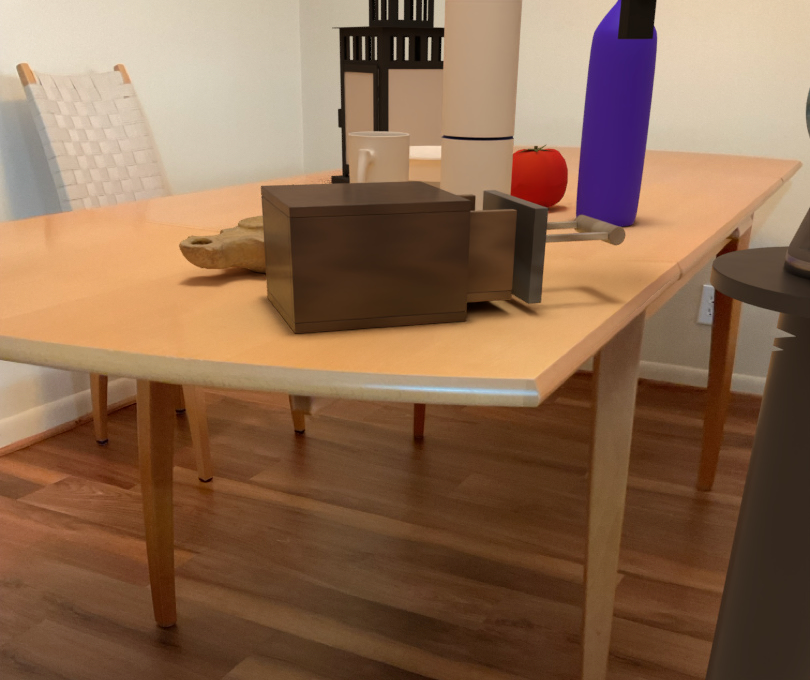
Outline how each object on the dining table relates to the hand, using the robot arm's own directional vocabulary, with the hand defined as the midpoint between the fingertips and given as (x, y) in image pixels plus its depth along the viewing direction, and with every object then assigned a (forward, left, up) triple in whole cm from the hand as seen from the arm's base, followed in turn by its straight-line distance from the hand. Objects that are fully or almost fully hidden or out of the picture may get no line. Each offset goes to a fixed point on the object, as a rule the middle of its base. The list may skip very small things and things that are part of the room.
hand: (635, 38), depth 82 cm
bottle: (+7, -34, -21) cm, 41 cm away
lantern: (+46, -56, -21) cm, 76 cm away
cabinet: (+17, +22, -21) cm, 35 cm away
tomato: (+19, -42, -21) cm, 51 cm away
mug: (+27, -3, -21) cm, 35 cm away
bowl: (+28, -26, -21) cm, 44 cm away
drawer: (+8, +14, -20) cm, 26 cm away
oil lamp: (+33, +13, -21) cm, 42 cm away
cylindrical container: (+14, +1, -21) cm, 26 cm away
